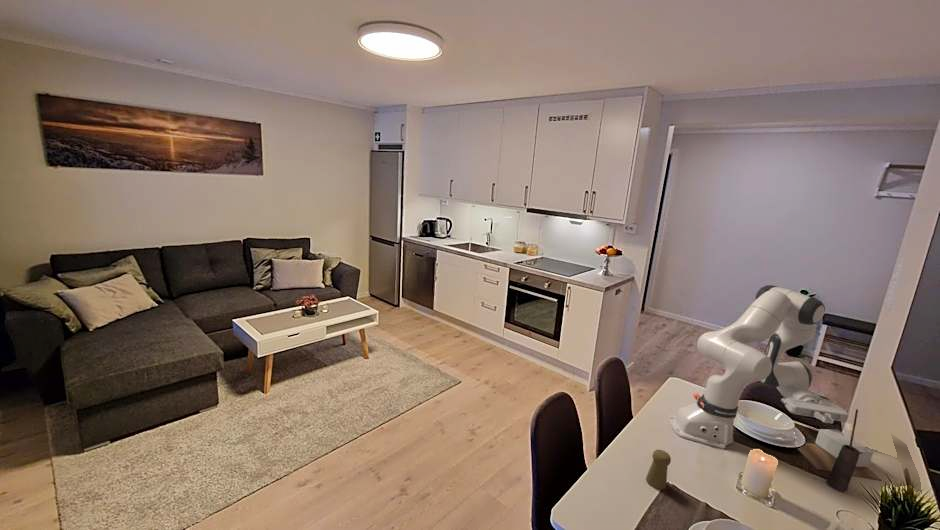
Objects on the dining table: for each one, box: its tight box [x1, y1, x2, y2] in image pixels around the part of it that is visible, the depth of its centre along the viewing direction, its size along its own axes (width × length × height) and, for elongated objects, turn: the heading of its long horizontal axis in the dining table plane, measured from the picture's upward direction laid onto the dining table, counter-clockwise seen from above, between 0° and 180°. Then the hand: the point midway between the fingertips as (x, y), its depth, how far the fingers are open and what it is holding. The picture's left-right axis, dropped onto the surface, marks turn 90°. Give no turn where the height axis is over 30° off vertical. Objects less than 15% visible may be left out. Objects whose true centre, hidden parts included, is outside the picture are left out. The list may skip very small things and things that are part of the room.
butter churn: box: [826, 408, 863, 493], centre depth 129 cm, size 9×10×28 cm
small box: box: [814, 428, 874, 468], centre depth 148 cm, size 8×6×13 cm
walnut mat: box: [797, 442, 882, 482], centre depth 146 cm, size 20×16×1 cm
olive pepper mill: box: [645, 449, 672, 491], centre depth 126 cm, size 6×6×11 cm
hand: (829, 421), depth 152 cm, fingers closed
